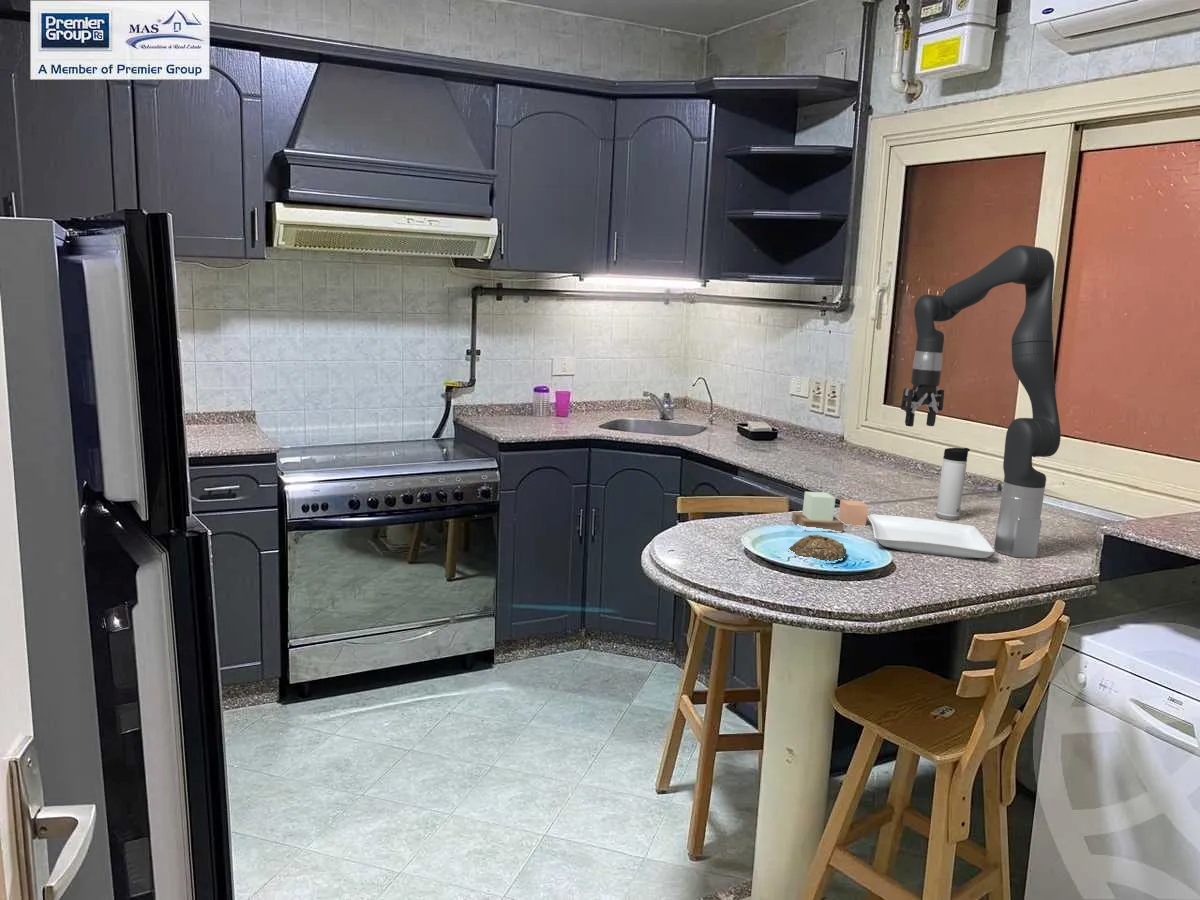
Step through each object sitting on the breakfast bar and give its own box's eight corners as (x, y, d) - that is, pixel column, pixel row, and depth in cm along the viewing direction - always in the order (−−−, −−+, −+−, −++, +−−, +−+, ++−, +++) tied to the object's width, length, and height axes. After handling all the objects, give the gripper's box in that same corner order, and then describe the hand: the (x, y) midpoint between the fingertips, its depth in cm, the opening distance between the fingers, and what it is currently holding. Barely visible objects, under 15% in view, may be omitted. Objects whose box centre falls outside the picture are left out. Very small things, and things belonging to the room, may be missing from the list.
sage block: (832, 520, 239) (835, 497, 238) (810, 519, 238) (812, 496, 237) (824, 514, 245) (827, 492, 244) (802, 514, 244) (804, 491, 243)
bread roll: (852, 556, 217) (854, 535, 216) (836, 568, 207) (838, 546, 206) (798, 545, 224) (801, 525, 223) (781, 556, 213) (783, 535, 212)
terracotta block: (865, 526, 247) (868, 505, 246) (845, 525, 246) (848, 504, 245) (857, 520, 252) (860, 500, 251) (838, 519, 251) (840, 500, 251)
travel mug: (963, 521, 260) (973, 450, 256) (939, 519, 260) (949, 448, 256) (955, 515, 266) (965, 446, 262) (932, 514, 266) (941, 444, 263)
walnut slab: (842, 532, 237) (843, 523, 237) (804, 531, 236) (805, 521, 236) (828, 522, 247) (829, 513, 247) (791, 521, 246) (792, 511, 246)
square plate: (994, 566, 217) (997, 550, 217) (873, 552, 223) (875, 536, 222) (973, 537, 244) (975, 523, 243) (865, 525, 249) (866, 511, 248)
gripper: (920, 369, 252) (912, 428, 255) (955, 370, 260) (947, 427, 262) (898, 366, 259) (891, 424, 261) (933, 367, 266) (926, 423, 269)
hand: (919, 426), depth 262 cm, fingers open, 8 cm apart
